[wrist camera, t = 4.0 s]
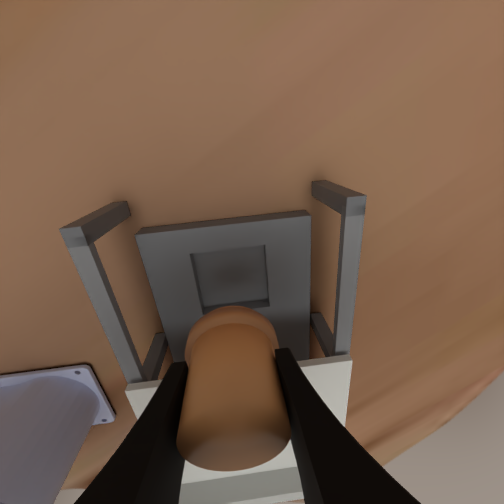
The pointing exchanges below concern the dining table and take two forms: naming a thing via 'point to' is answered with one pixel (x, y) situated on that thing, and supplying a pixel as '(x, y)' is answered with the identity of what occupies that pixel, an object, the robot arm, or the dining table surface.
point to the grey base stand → (225, 276)
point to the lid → (272, 472)
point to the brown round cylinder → (232, 393)
